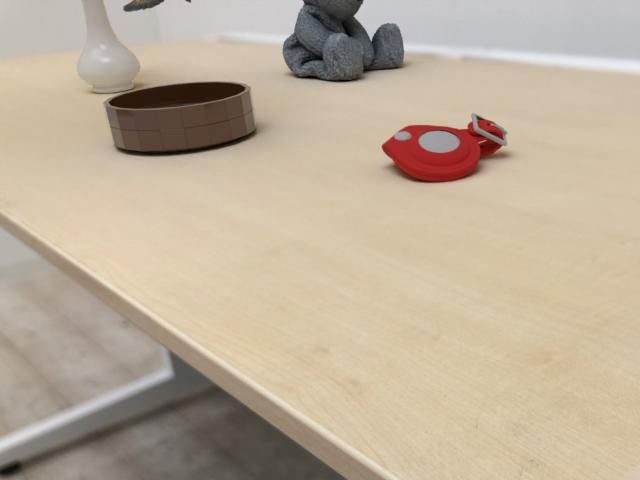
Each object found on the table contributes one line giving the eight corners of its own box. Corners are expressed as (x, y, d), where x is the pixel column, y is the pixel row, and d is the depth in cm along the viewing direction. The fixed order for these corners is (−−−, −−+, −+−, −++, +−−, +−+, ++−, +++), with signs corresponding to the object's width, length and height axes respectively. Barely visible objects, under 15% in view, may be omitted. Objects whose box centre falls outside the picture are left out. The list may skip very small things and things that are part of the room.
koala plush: (348, 84, 120) (332, -62, 111) (260, 78, 129) (239, -57, 120) (412, 65, 133) (403, -67, 124) (328, 61, 142) (314, -62, 133)
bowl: (83, 150, 91) (71, 105, 89) (185, 119, 104) (176, 79, 102) (190, 161, 84) (180, 113, 82) (284, 126, 97) (278, 83, 95)
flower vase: (60, 105, 117) (7, -88, 106) (83, 84, 134) (40, -86, 122) (151, 96, 120) (110, -93, 108) (164, 77, 136) (129, -90, 124)
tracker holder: (457, 175, 70) (363, 140, 73) (455, 215, 73) (364, 180, 77) (519, 114, 78) (430, 85, 81) (514, 153, 81) (429, 124, 84)
